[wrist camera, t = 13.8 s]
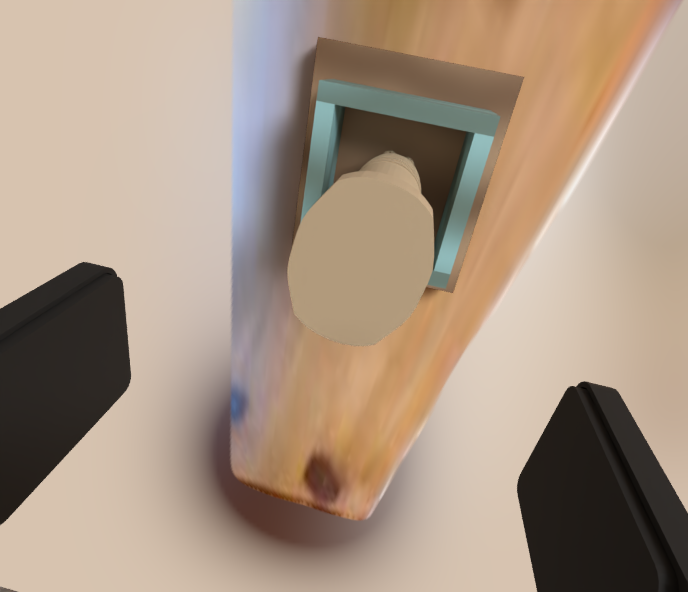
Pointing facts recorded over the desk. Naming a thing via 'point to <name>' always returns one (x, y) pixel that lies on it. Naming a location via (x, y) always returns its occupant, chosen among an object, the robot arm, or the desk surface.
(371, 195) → the handle
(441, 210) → the teal open box
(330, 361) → the desk surface
